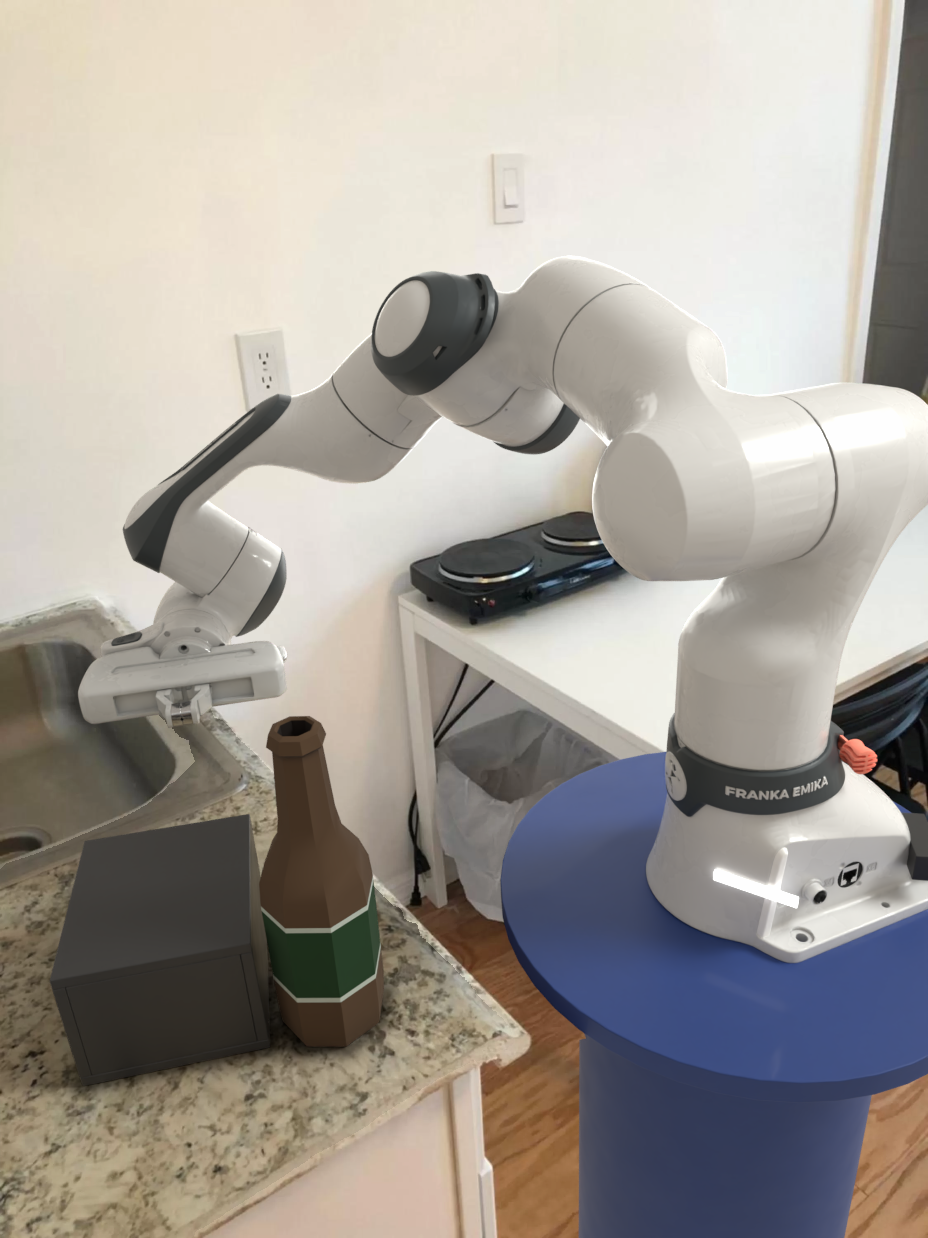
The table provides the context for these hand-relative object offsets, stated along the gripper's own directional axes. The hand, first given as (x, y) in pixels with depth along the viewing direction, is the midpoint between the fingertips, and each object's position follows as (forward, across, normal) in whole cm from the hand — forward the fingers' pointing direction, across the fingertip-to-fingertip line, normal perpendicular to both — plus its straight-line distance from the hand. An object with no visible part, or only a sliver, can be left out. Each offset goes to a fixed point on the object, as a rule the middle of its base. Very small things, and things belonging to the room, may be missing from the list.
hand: (181, 719), depth 89 cm
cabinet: (+25, 0, -10) cm, 26 cm away
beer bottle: (+30, -11, -10) cm, 33 cm away
